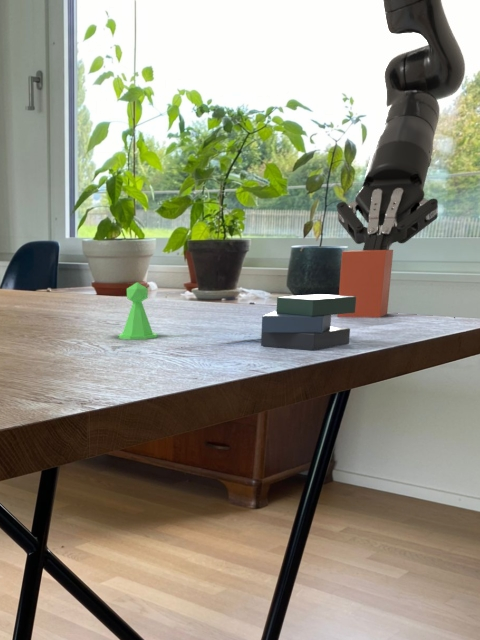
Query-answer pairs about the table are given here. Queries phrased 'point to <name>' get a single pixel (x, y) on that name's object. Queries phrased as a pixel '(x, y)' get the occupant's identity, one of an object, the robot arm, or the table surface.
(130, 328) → the game piece
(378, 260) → the tall orange pillar
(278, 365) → the table surface
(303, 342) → the block pile
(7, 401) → the table surface
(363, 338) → the table surface
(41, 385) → the table surface
